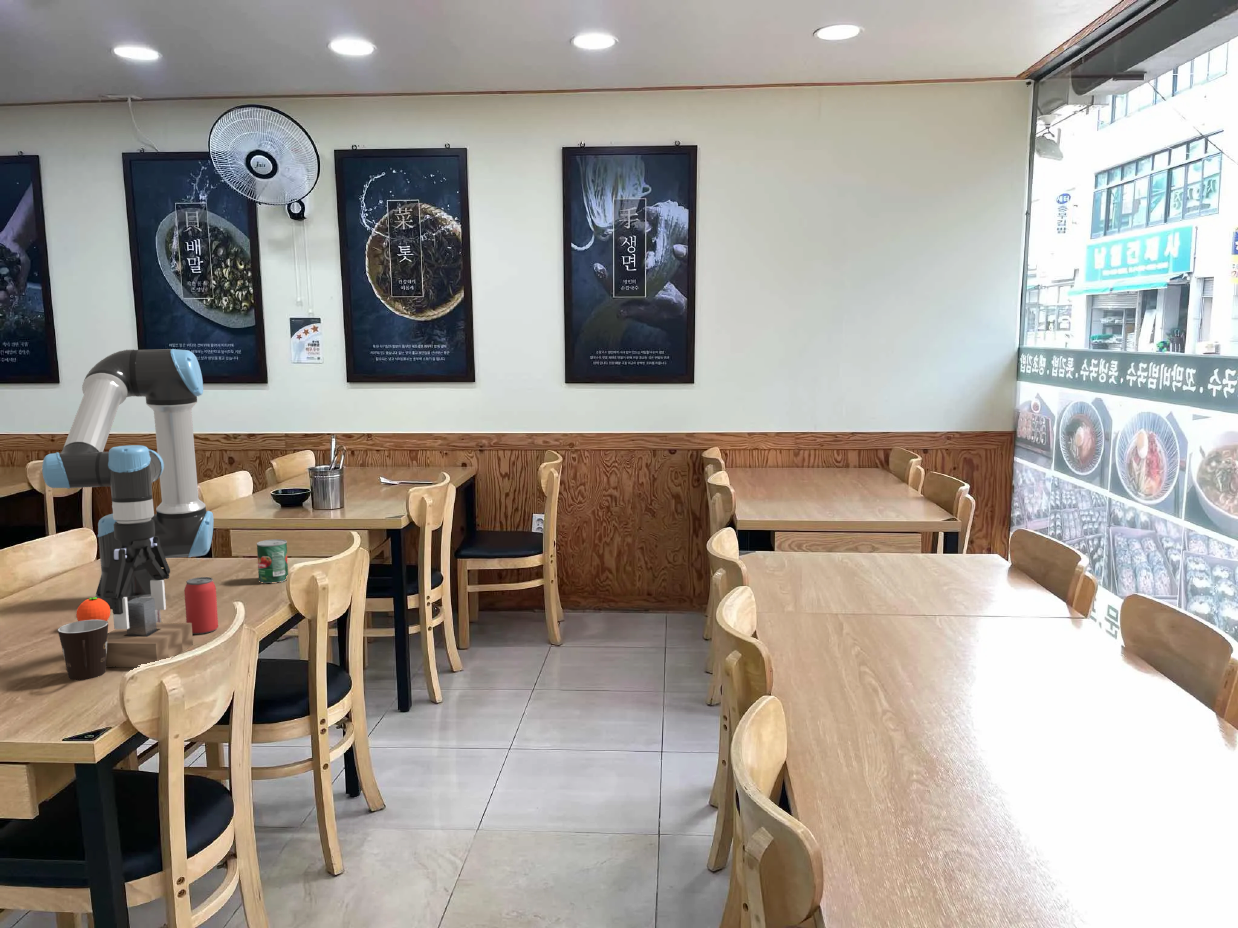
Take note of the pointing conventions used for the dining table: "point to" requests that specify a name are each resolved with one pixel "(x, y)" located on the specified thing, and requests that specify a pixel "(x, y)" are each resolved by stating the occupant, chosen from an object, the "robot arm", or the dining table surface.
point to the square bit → (141, 617)
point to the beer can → (201, 605)
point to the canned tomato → (272, 560)
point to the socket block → (147, 645)
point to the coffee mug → (84, 648)
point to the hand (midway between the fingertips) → (141, 618)
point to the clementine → (93, 610)
